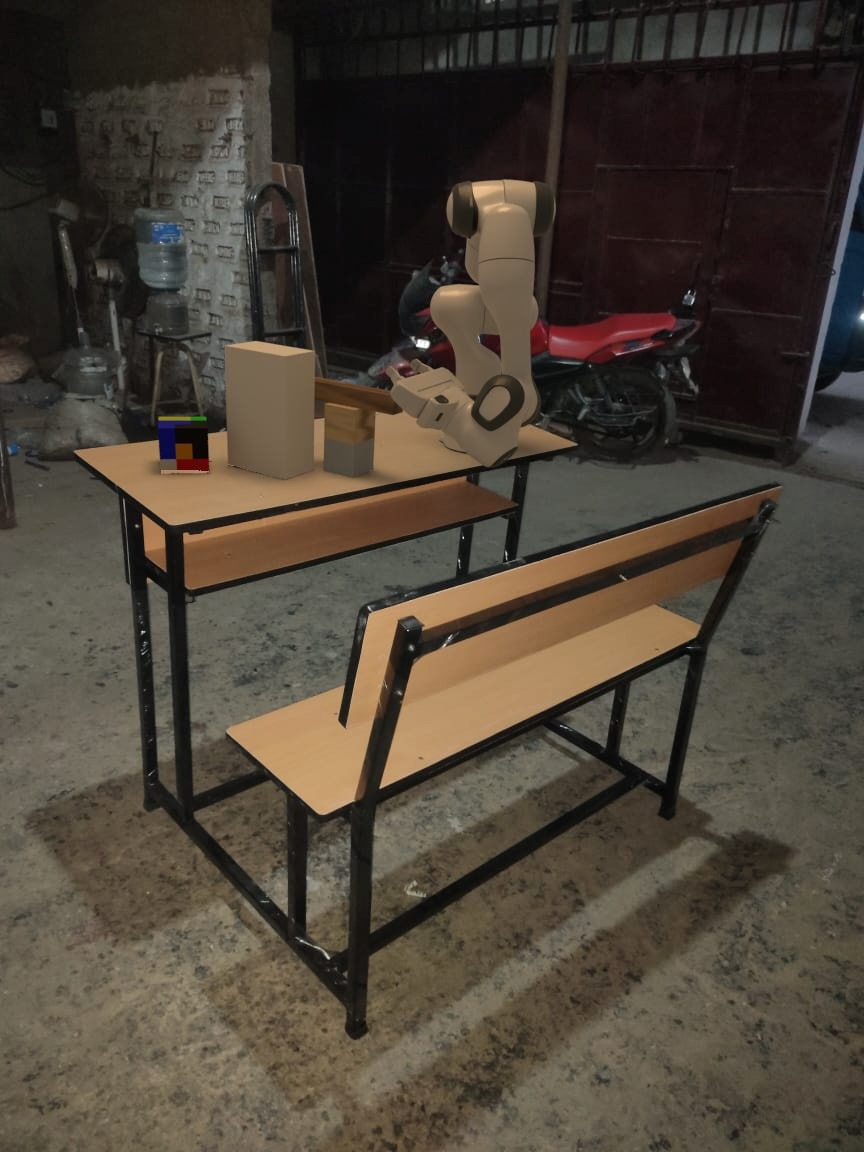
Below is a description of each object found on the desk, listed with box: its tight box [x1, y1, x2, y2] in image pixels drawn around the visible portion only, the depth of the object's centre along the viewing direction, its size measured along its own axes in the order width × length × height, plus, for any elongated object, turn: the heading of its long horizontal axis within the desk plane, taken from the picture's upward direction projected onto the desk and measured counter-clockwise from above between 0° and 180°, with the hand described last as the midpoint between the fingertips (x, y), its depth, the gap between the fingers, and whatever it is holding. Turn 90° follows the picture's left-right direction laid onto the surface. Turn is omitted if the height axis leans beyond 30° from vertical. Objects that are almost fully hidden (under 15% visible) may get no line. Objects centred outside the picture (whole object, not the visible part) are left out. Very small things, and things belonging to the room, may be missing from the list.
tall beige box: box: [224, 340, 316, 481], centre depth 185 cm, size 10×16×26 cm, turn 61°
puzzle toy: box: [157, 416, 210, 472], centre depth 185 cm, size 10×10×10 cm
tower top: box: [323, 402, 377, 445], centre depth 188 cm, size 8×8×8 cm
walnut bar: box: [314, 376, 404, 416], centre depth 186 cm, size 4×24×4 cm, turn 61°
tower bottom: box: [323, 437, 375, 479], centre depth 191 cm, size 8×8×8 cm
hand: (400, 365), depth 178 cm, fingers open, 8 cm apart
